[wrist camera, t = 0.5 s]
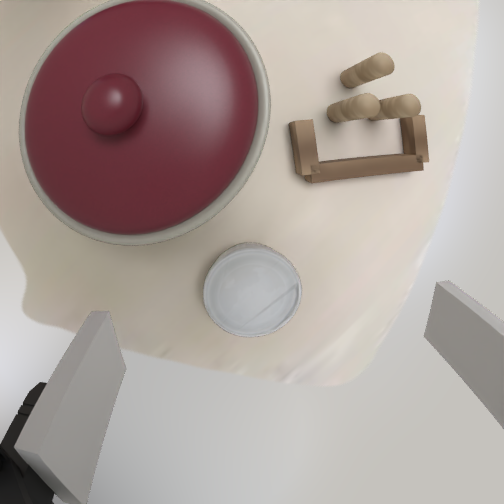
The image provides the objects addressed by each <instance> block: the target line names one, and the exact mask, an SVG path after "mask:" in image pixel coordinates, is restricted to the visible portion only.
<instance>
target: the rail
mask: <svg viewBox="0 0 504 504" xmlns="http://www.w3.org/2000/svg"><path fill="white" fill-rule="evenodd" d="M400 123H401V131H402V140H403V150H404V154H391V155H379V156H368V157H357V158H347V159H338V160H329V161H321V162H319V161H318V153H317V146H316V139H315V132H314V125H313V119H310V120H300V121H293V122H290V123H289V127H290V134H291V140H292V147H293V154H294V161H295V168H296V173H297V174H300V175H305V180H306V181H308V182H311V183H318V182H325V181H332V180H340V179H348V178H356V177H364V176H373V175H382V174H391V173H401V172H411V171H422V170H423V162H429V155H428V144H427V134H426V125H425V116H424V115H417V116H415V117H405V118H400Z"/></svg>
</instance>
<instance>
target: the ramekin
mask: <svg viewBox="0 0 504 504" xmlns="http://www.w3.org/2000/svg"><path fill="white" fill-rule="evenodd" d="M301 295H302V287H301V281H300V278H299V275H298V273H297V271H296V269H295V267H294V266H293V265H292V263H291V262H290V261H289V260H288V259H287V258H286V257H284V256H283V255H282V254H280V253H279V252H277V251H275V250H273V249H272V248H270V247H267V246H266V245H262V244H257V243H243V244H239V245H235V246H233V247H231V248H229V249H228V250H226V251H225V252H224V253H222V254H221V255H220V256H219V257H218V259H217V261H216V262H215V263H214V264H213V265H212V267H211V268H210V270H209V271H208V273H207V276H206V278H205V281H204V287H203V300H204V305H205V308H206V310H207V312H208V314H209V316H210V317H211V319H212V320H213V321H214V322H215V323H216V324H217V325H218V326H219V327H220V328H222V329H223V330H225V331H226V332H228V333H231V334H234V335H237V336H242V337H259V336H264V335H267V334H270V333H272V332H275V331H277V330H278V329H280V328H281V327H283V326H284V325H285V324H286V323H287V322H288V321H289V320H290V319H291V318H292V317H293V316H294V314H295V313H296V311H297V309H298V306H299V304H300V300H301Z"/></svg>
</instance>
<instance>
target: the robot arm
mask: <svg viewBox="0 0 504 504" xmlns="http://www.w3.org/2000/svg"><path fill="white" fill-rule="evenodd" d="M424 337H425V338H426V339H427V340H428V341H429V343H430V344H431V345H432V346H433V347H434V348H435V349H436V350H437V351H438V352H439V354H440V355H441V356H442V357H443V358H444V359H445V360H446V361H447V362H448V364H449V365H450V366H451V367H452V368H453V369H454V370H455V371H456V373H457V374H458V375H459V376H460V377H461V378H462V379H463V381H464V382H465V383H466V384H467V385H468V386H469V388H470V389H471V390H472V391H473V392H474V393H475V394H476V396H477V397H478V398H479V399H480V401H481V402H482V403H483V404H484V405H485V407H486V408H487V409H488V410H489V411H490V413H491V414H492V415H493V416H494V418H495V419H496V420H497V421H498V422H499V424H500V425H501V426H502V427H503V429H504V322H503V321H502V320H501V319H500V318H498V317H497V316H496V315H494V314H493V313H492V312H491V311H490V310H488V309H487V308H486V307H484V306H483V305H482V304H480V303H479V302H478V301H476V300H475V299H474V298H472V297H471V296H470V295H468V294H467V293H465V292H464V291H463V290H462V289H460V288H459V287H457V286H456V285H455V284H453V283H452V282H450V281H442V282H436V287H435V291H434V296H433V300H432V305H431V309H430V314H429V318H428V322H427V326H426V330H425V333H424ZM125 371H126V366H125V363H124V360H123V357H122V354H121V350H120V347H119V344H118V340H117V337H116V334H115V330H114V326H113V323H112V319H111V315H110V312H109V311H91V313H90V314H89V316H88V318H87V319H86V321H85V322H84V324H83V325H82V327H81V328H80V330H79V331H78V333H77V335H76V336H75V338H74V339H73V341H72V342H71V344H70V346H69V347H68V349H67V351H66V352H65V354H64V356H63V357H62V359H61V360H60V362H59V364H58V366H57V367H56V369H55V371H54V372H53V374H52V376H51V378H50V379H49V381H48V383H43V382H40V383H39V384H37V385H36V386H35V387H34V388H33V389H32V390H31V391H29V393H28V395H27V396H26V398H25V400H24V402H23V405H21V407H20V409H19V410H18V415H16V416H15V418H14V420H13V421H12V423H11V425H10V427H9V429H8V431H7V433H6V435H5V437H4V439H3V440H2V442H1V444H0V504H54V503H53V502H52V499H53V496H54V493H55V494H56V495H57V496H58V497H59V498H60V499H61V500H62V501H63V502H65V503H69V504H87V502H88V498H89V493H90V489H91V485H92V481H93V477H94V473H95V469H96V465H97V462H98V458H99V455H100V451H101V447H102V444H103V440H104V437H105V433H106V430H107V427H108V424H109V420H110V417H111V414H112V411H113V407H114V404H115V401H116V398H117V395H118V391H119V389H120V386H121V383H122V380H123V377H124V374H125Z"/></svg>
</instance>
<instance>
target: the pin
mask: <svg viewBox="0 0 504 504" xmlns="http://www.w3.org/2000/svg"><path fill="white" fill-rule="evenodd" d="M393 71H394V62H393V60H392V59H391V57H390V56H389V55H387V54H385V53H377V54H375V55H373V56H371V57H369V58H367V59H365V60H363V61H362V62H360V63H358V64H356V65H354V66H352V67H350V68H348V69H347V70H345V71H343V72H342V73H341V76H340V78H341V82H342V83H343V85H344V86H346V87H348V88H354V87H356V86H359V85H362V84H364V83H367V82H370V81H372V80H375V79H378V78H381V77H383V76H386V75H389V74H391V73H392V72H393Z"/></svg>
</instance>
